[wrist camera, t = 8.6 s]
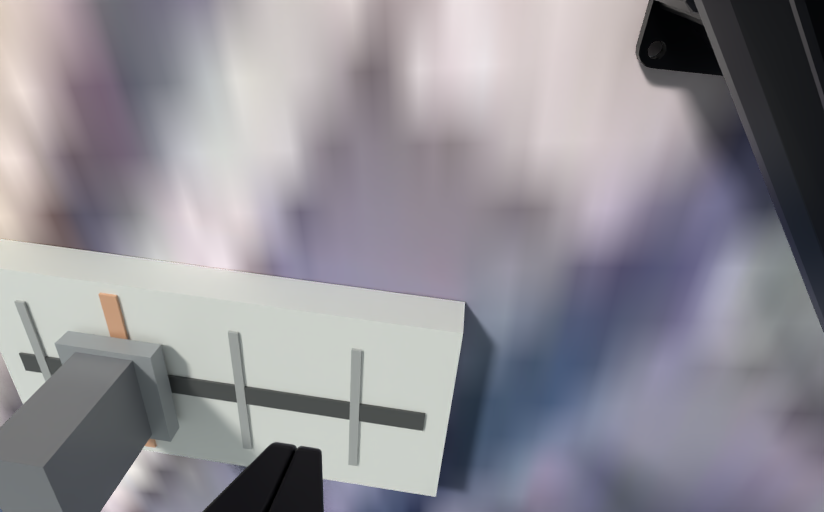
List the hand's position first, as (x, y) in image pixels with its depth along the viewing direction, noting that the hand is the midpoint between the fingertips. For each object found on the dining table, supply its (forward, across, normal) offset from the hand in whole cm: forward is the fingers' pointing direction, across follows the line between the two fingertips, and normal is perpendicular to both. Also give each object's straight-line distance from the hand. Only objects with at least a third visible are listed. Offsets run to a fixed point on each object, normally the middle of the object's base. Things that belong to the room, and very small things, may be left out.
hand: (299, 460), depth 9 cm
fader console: (+12, +7, +10) cm, 17 cm away
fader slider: (+10, +11, +10) cm, 18 cm away
